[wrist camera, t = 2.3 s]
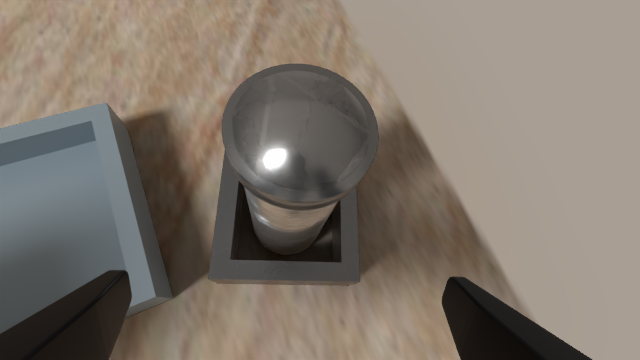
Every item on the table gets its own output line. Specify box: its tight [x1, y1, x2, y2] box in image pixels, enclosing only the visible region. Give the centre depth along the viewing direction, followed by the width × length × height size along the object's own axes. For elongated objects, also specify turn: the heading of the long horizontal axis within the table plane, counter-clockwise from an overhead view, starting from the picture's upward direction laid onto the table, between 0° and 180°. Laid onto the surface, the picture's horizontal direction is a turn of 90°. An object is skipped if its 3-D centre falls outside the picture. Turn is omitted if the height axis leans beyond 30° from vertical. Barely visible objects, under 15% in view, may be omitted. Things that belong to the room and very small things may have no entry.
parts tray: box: [0, 103, 173, 333], centre depth 18 cm, size 12×12×3 cm
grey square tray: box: [208, 150, 360, 286], centre depth 20 cm, size 8×8×3 cm
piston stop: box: [222, 64, 379, 255], centre depth 16 cm, size 5×5×12 cm
